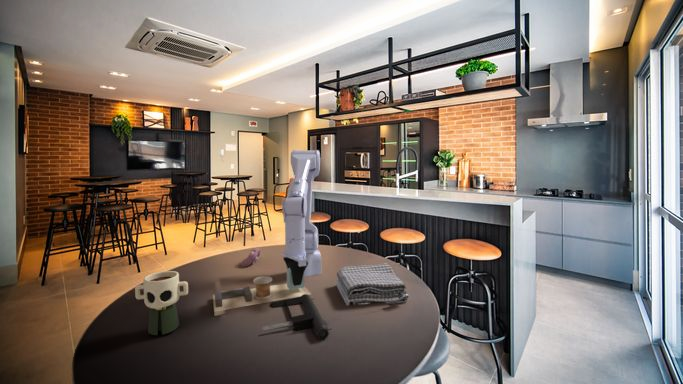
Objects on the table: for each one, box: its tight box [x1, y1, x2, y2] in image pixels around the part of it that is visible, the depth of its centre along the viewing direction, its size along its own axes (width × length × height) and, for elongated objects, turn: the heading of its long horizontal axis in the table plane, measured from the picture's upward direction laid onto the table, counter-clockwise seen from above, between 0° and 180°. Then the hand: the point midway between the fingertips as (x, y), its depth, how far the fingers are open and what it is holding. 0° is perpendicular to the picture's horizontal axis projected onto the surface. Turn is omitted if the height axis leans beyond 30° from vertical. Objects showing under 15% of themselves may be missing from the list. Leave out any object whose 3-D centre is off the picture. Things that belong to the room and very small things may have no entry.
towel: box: [336, 262, 409, 306], centre depth 91 cm, size 15×18×8 cm
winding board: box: [212, 275, 313, 317], centre depth 89 cm, size 26×11×6 cm, turn 114°
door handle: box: [258, 294, 331, 340], centre depth 76 cm, size 3×20×16 cm
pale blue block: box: [286, 267, 305, 290], centre depth 92 cm, size 4×3×6 cm, turn 114°
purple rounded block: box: [241, 247, 263, 268], centre depth 121 cm, size 10×5×7 cm, turn 0°
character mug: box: [134, 270, 189, 336], centre depth 72 cm, size 11×7×13 cm, turn 104°
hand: (295, 282), depth 92 cm, fingers closed on pale blue block, 3 cm apart
